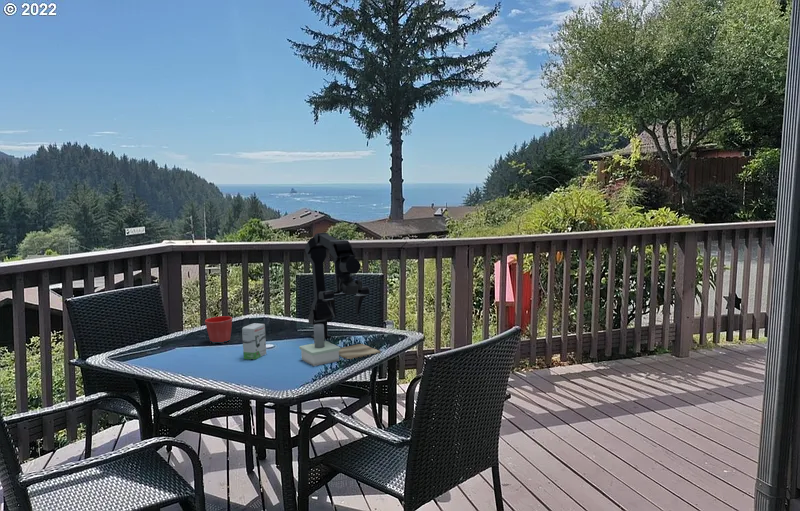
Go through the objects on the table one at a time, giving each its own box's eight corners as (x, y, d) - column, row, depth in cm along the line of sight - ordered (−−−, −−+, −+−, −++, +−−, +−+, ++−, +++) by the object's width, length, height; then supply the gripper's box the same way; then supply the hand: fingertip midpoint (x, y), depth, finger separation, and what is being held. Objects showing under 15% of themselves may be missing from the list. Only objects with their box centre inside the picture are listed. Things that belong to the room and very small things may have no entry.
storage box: (301, 359, 214) (301, 348, 213) (326, 354, 219) (326, 344, 219) (313, 366, 205) (313, 355, 205) (339, 360, 211) (338, 350, 210)
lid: (299, 348, 213) (298, 324, 212) (326, 343, 219) (325, 320, 218) (312, 355, 204) (311, 330, 203) (340, 350, 210) (339, 325, 209)
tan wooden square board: (330, 351, 223) (329, 349, 223) (361, 345, 231) (361, 343, 231) (347, 359, 212) (347, 358, 212) (380, 352, 219) (380, 351, 219)
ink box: (254, 360, 215) (252, 328, 213) (242, 359, 216) (241, 328, 215) (267, 353, 223) (265, 323, 221) (255, 352, 224) (253, 322, 223)
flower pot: (200, 344, 239) (199, 320, 238) (218, 337, 249) (216, 315, 248) (221, 346, 235) (220, 322, 234) (239, 339, 245) (237, 316, 244)
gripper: (327, 276, 208) (331, 320, 208) (374, 271, 217) (378, 313, 217) (316, 276, 218) (320, 318, 218) (361, 272, 227) (365, 312, 227)
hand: (346, 315), depth 220 cm, fingers open, 9 cm apart
